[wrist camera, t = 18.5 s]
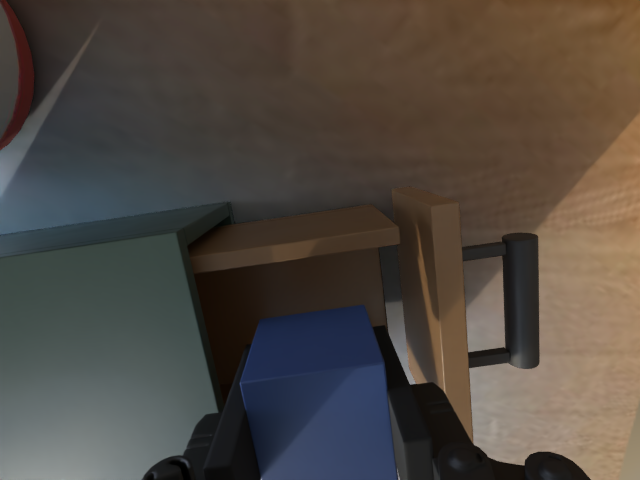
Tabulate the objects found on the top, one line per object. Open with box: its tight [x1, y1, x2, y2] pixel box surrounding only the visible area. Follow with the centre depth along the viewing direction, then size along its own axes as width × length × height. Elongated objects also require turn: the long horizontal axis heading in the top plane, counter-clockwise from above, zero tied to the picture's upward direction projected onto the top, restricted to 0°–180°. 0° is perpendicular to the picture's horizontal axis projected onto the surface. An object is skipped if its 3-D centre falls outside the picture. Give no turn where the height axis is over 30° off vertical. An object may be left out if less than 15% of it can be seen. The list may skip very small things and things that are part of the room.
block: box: [240, 305, 398, 480], centre depth 14 cm, size 5×5×5 cm
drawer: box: [187, 186, 539, 443], centre depth 20 cm, size 20×12×8 cm, turn 98°
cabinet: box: [0, 202, 235, 480], centre depth 21 cm, size 17×14×10 cm
